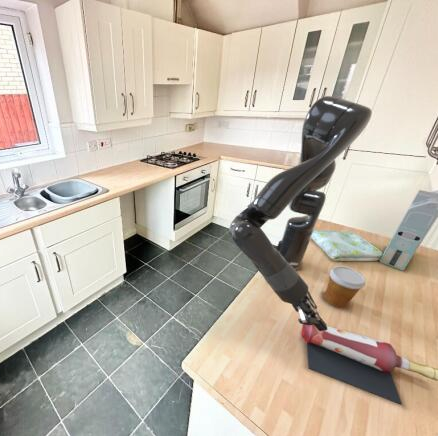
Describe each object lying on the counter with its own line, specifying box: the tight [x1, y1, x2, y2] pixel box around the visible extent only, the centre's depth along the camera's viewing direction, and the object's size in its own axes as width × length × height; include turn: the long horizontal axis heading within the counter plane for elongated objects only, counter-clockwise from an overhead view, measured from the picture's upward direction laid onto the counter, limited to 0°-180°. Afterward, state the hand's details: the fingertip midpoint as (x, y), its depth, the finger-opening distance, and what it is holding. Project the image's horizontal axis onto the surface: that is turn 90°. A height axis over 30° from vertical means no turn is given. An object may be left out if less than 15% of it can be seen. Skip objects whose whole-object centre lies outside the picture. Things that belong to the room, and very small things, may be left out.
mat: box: [306, 343, 403, 405], centre depth 66 cm, size 19×12×1 cm, turn 63°
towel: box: [310, 230, 383, 262], centre depth 110 cm, size 18×21×5 cm
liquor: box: [301, 324, 438, 382], centre depth 65 cm, size 7×7×28 cm
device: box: [378, 189, 438, 272], centre depth 97 cm, size 16×8×30 cm, turn 129°
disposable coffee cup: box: [324, 265, 366, 309], centre depth 82 cm, size 10×10×12 cm
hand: (323, 328), depth 64 cm, fingers closed
